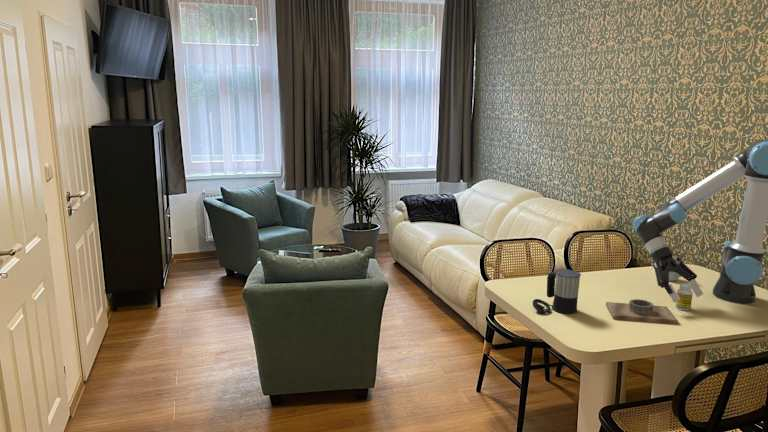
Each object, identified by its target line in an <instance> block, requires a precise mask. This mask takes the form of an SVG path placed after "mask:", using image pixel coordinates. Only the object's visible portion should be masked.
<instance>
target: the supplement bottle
mask: <svg viewBox="0 0 768 432" xmlns="http://www.w3.org/2000/svg"><path fill="white" fill-rule="evenodd" d="M691 287H692V286H691V285H690V284H688V283H686V282H684V283H683V282H681V283H680V284H679V288H678V289H677V290H676V293H677V294H678V296H679V297H680V300H678V301H677V302H675V308H676V309H677V310H680V311H686V312H687V311H690V310H691V309H692V300H693V293H694V292H693V290H692V288H691Z"/></svg>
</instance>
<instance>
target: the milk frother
mask: <svg viewBox="0 0 768 432" xmlns="http://www.w3.org/2000/svg"><path fill="white" fill-rule="evenodd" d="M581 276H582V274H581V273H580V272H578V271H577V270H574V269H567V268H566V269H565V268H561V269H556V270H555V271H551V272H550V273H548V274H547V278H546V297H547V298H553V301H552V305H551V304H550V303H548V302H546V301H545V300H542V299H539V298H535V299H533V300H532V307H533V309H535V310H536V311H538V313H543V314H548V313H550V312H551V309H552V310H553V311H554V312H557V313H559V314H564V315H572V314H577V312H578V298H579V297H578V296H579V288H580V279H581ZM543 305H544V306H543ZM545 307H546V309H545Z"/></svg>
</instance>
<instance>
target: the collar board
mask: <svg viewBox="0 0 768 432" xmlns="http://www.w3.org/2000/svg"><path fill="white" fill-rule="evenodd" d="M628 302H629V303H627V302H626V303H625V302H613V301H612V302H611V301H606V302H605V306H606V309H607V310H608V312H609V314H610V316H611V318H612V319H613V320H618V321H619V320H621V321H622V320H623V321H633V322H643V323H644V322H647V323H657V324H669V325H670V324H671V325H678V321H679V320H678V319H677V317H676V316H675V315H674V313H672V311H671V310H670V309H669V307H668V306H667V305H654V303H652V302H651V301H650V300H649V301H648V300H645V299H640V298H639V299H638V298H636V299H635V298H634V299H630V300H629V301H628Z"/></svg>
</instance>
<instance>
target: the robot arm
mask: <svg viewBox="0 0 768 432" xmlns="http://www.w3.org/2000/svg"><path fill="white" fill-rule="evenodd" d="M744 178H746V179H747V183H746V187H745V188H746V189H745V193H744V198H743V201H742V202H743V203H742V207H741V211H740V212H741V213H740V216H739V221H738V226H737V230H736V234H735V235H736V236H735V239H734V240H735V241H734V240H732V241H731V240H728V241H725V243H724V246H723V248H722V249H723V254H722V259H721V260H722V261H721V265H720V274H719V277H718V279H717V280H716V282H715V285H714V286H713V288H712V295H713V296H715V297H716V298H718V299H721V300H723V301H728V302H731V303H732V302H733V303H737V304H738V303H739V304H750V303H754V302H755V301H756V298H757V297H756V296H757V295H756V289H755V285H754V284H755V283H756V282H758V281H759V280H760V278H761V277H762V275H763V272H764V271H763V268H764V267H763V261H764V256H765V252H766V250H765V249H764V248H763V247H762V244H763V240H764V235H765V230H766V225H767V221H768V139H759V140H756V141H755V142H752V143H751V144H750V145H749V146H747V147H746V148H745V149H743V150H742V151H740V152H739V153H737V154H736V155H735V156H734V157H733V159H732V161H730V162H728V163H727V164H725V165H724V166H722V167H721V168H719V169H717V170H716V171H714V172H713V173H711V174H709V175H708V176H707V177H705V178H704V179H701V180H700V181H699V182H697V183H695V184H694V185H692V186H691V187H689V188H688V189H686V190H685V191H683V192H682V193H680V194H678V195H677V196H675V197H674V198H671V199H670V200H668V201H665V202H664V203H662V204H661V206H660V208H659V212H657V213H655V214H654V215H652V216H650V215H649V214H647V213H646V214H641V215H639V216H637V217H636V218H635V219H634V220H632V227H633V228H634V231H635V233H636V235H637V236H638V237H639V239H640V240H641V243H642V244H643V245H644V247H645V248H646V250H647V252H648V253H649V254H650V256H651V258H652V260H653V262H654V263H653V264H652V267H653V269H654V272H655V278H656V282H657V285H658V287H660V288H661V289H663V288H664V289H665V291H666V293H667V294H668V295H669V296H670V298H671V301H672V302H673V303H676V302H677V301H678V300H680V297H679V296H678V294H677V290H676V289H675V288H674V285H672V283H670V281H669V272H676V273H678V274H679V275H680V276H682V277H681V278H683V279H685V280H686V281H688V282H687V284H690V285H691V286H692V287H691V291H692V292H693V293H694V295H695V297H696V298H699V297H701V296H702V295H704V293H703V290H702V288H701V287H700V286H699V284H698V282H697V281H696V279H697V277H698V275H697V273H695V272H694V271H693V270H691V269H690V267H688V265H686V264H685V262H683V260H682V259H681V258H680V257H677V258H676V259H674V257H673V256H674V252H673V251H672V250H671V248H670V247H669V246H668V243H667V241H666V240H665V238H664V237H663V235H662V234H661V233H664V232H665V231H667V230H669V229H671V228H673V227H674V226H676V225H679V224H681V223H682V222H683V221H685V220H686V219H688V214H687V213H688V212H689V211H690V210H691V211H692V209H694V208H695V207H697V206H699V205H701V204H702V203H703V202H706V201H707V200H708V199H711V198H712V197H714V196H715V195H717V194H719V193H720V192H722V191H724V190H725V189H726V188H729V187H730V186H732V185H733V184H735V183H737V182H738V181H740V180H741V179H744Z"/></svg>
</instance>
